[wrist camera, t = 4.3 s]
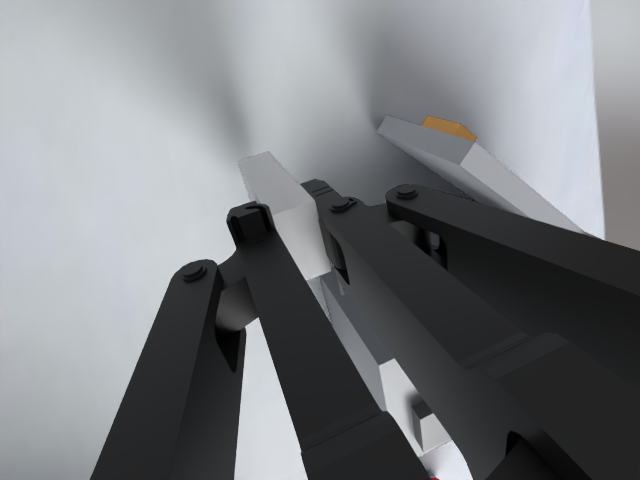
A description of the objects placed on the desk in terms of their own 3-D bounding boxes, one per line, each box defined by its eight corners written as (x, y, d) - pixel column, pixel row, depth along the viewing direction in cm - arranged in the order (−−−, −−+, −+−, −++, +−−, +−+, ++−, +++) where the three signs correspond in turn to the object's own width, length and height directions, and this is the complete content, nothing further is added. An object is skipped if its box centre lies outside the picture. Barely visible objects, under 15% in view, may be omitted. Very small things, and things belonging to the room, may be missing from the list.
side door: (373, 133, 20) (466, 171, 13) (391, 102, 19) (496, 126, 13) (486, 209, 25) (590, 262, 19) (502, 187, 25) (614, 233, 18)
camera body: (343, 366, 27) (405, 482, 20) (318, 273, 23) (387, 378, 15) (499, 296, 30) (604, 374, 23) (505, 199, 25) (639, 259, 18)
